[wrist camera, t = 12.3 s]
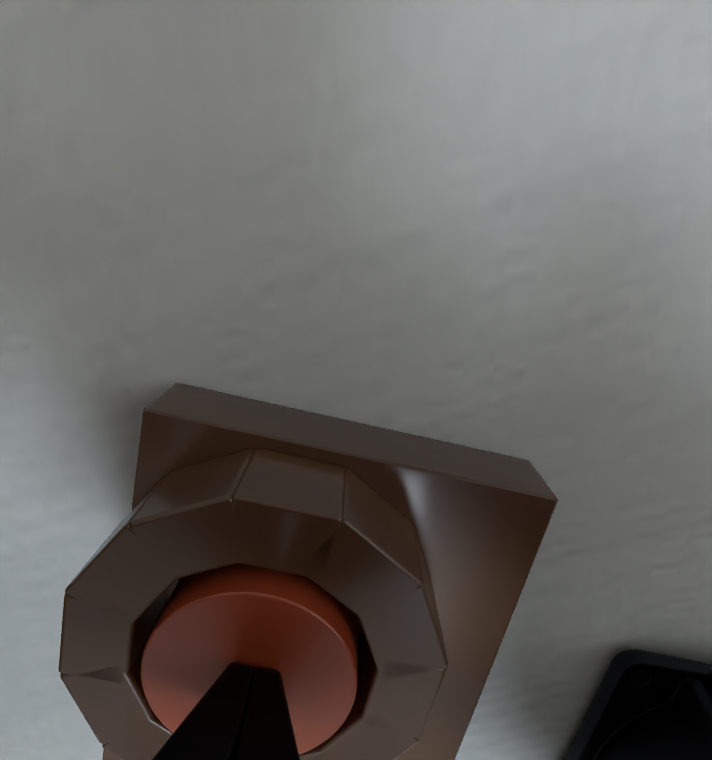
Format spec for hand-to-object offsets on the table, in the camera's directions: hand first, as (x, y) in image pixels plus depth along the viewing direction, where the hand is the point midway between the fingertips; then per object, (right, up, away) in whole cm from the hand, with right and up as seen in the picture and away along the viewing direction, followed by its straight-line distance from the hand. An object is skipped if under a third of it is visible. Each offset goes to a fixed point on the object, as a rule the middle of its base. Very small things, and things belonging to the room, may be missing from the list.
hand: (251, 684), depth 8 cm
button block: (0, -1, +4) cm, 4 cm away
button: (0, 0, +2) cm, 2 cm away
